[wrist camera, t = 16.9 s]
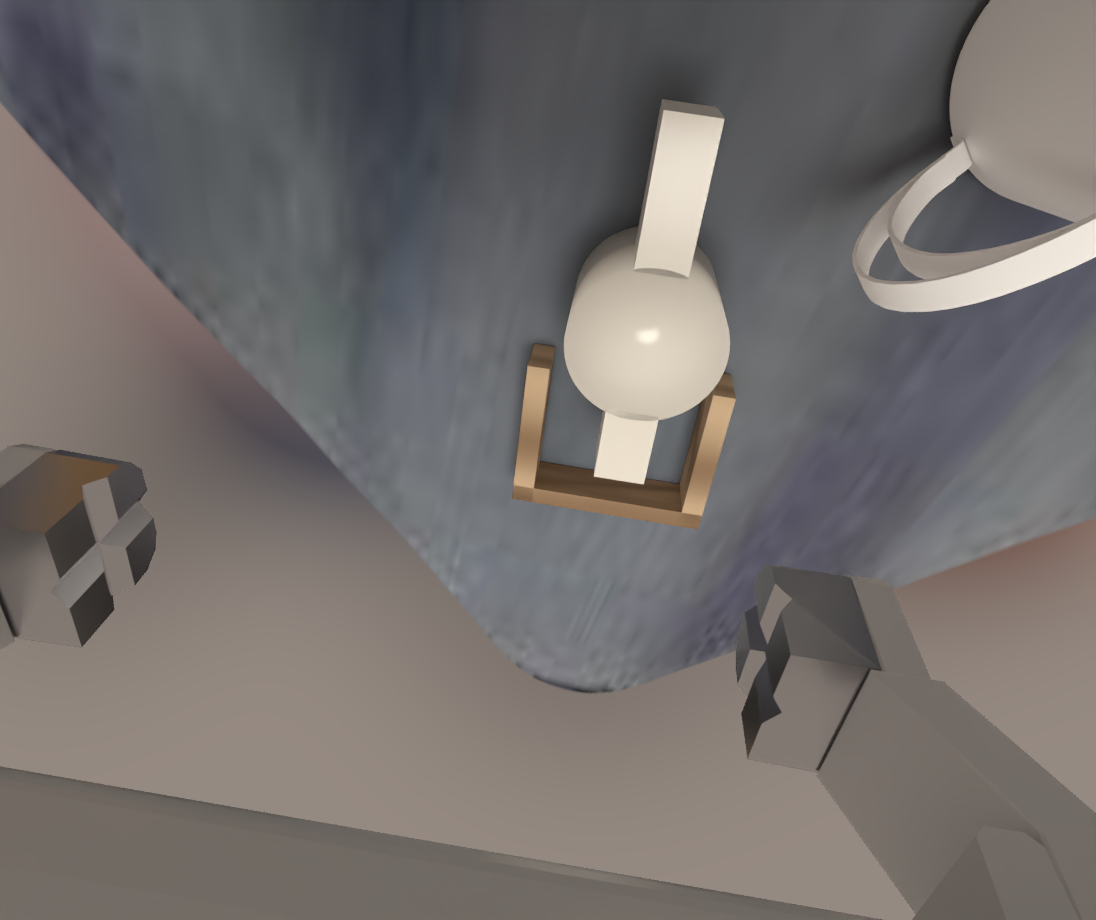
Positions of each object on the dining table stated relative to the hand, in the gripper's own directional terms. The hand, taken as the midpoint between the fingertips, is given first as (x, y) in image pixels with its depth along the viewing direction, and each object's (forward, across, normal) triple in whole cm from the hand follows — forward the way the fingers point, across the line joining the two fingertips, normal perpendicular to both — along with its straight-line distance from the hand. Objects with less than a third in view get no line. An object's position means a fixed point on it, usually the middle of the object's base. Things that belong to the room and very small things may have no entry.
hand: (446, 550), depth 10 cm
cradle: (+32, -4, +15) cm, 35 cm away
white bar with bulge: (+32, -4, +6) cm, 33 cm away
